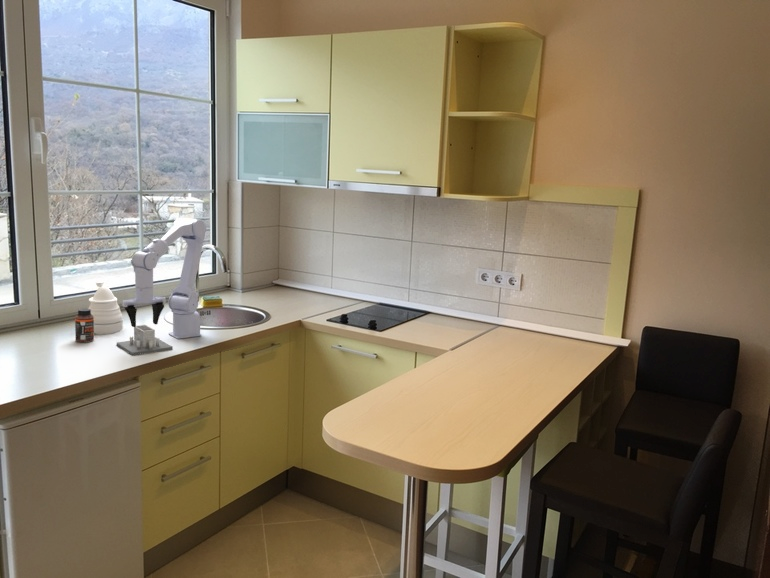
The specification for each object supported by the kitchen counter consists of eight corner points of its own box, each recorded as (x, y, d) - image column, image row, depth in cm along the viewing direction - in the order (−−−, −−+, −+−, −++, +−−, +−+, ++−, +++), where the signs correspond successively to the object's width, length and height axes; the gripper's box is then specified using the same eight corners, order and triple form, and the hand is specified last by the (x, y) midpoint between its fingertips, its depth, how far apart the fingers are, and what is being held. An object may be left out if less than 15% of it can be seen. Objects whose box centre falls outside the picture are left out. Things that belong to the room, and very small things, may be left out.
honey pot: (77, 330, 240) (76, 282, 237) (104, 323, 252) (103, 278, 249) (104, 335, 236) (103, 287, 232) (130, 328, 248) (129, 282, 244)
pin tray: (155, 340, 234) (155, 330, 234) (172, 349, 224) (172, 339, 224) (116, 345, 225) (116, 335, 224) (132, 355, 215) (132, 345, 214)
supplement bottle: (86, 343, 225) (86, 312, 222) (71, 341, 226) (70, 310, 224) (97, 339, 230) (97, 308, 228) (82, 337, 231) (82, 306, 229)
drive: (154, 346, 223) (154, 329, 222) (143, 348, 220) (143, 330, 219) (145, 341, 229) (145, 324, 227) (134, 342, 226) (134, 325, 225)
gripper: (159, 283, 228) (159, 320, 231) (118, 286, 219) (118, 325, 221) (168, 286, 223) (168, 324, 226) (126, 290, 213) (126, 329, 216)
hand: (144, 325), depth 223 cm, fingers open, 7 cm apart
